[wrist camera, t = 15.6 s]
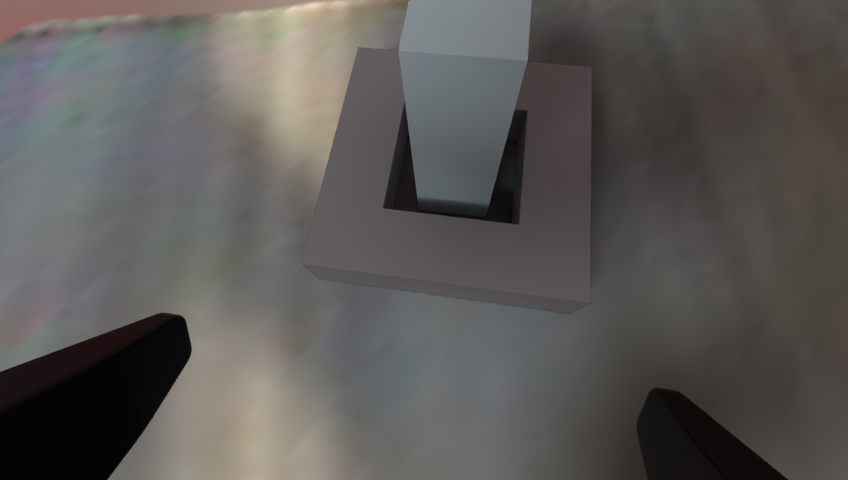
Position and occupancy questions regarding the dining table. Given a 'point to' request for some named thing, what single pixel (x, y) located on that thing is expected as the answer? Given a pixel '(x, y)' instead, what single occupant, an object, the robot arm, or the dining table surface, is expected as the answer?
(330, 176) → the square socket base
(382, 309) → the dining table surface
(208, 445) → the dining table surface
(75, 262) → the dining table surface
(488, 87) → the slate block
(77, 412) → the robot arm
